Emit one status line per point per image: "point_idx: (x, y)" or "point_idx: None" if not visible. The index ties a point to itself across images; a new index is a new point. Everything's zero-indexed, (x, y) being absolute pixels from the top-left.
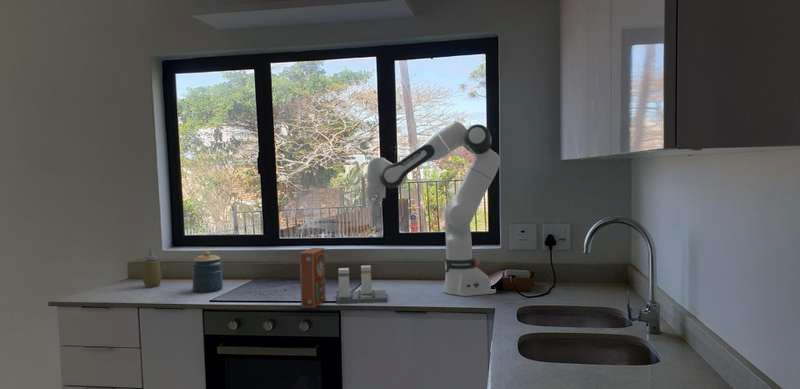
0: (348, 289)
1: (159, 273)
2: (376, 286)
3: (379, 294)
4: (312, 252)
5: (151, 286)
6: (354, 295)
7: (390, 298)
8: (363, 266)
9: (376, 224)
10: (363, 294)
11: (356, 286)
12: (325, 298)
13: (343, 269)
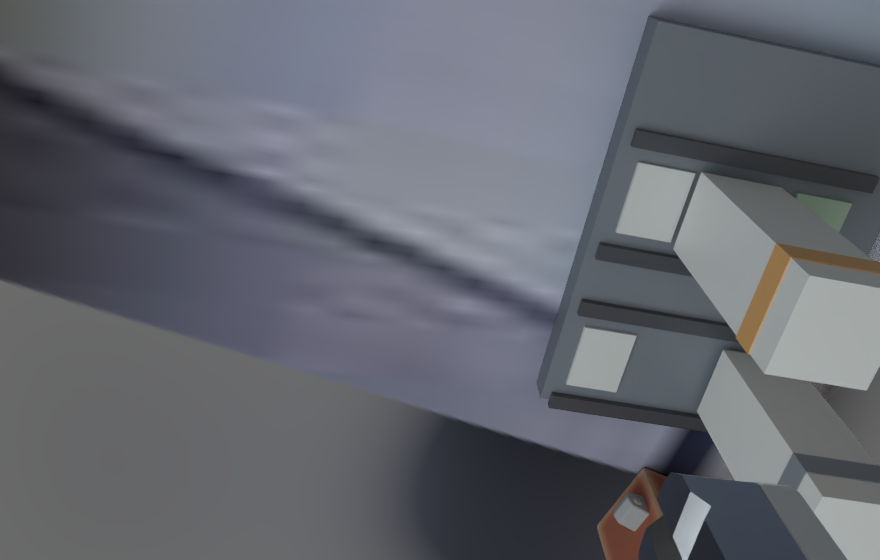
0: (820, 397)
1: None
2: (321, 26)
3: (799, 114)
4: None
5: None
6: None
7: (846, 15)
8: (829, 359)
9: (801, 521)
10: None
11: (268, 208)
12: (650, 475)
13: (867, 543)
